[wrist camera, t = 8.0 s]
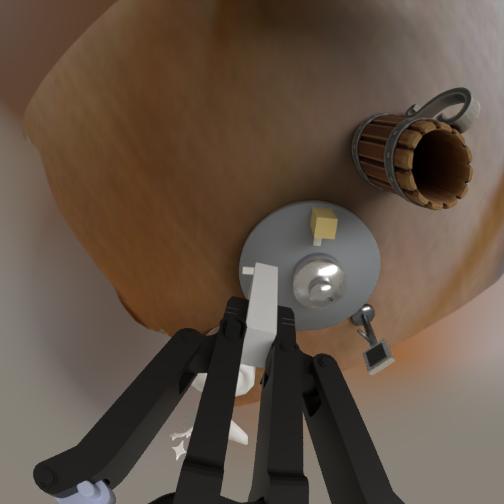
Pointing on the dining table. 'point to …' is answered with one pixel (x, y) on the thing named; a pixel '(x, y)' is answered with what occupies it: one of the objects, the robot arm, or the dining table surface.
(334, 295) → the cover
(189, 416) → the potted plant
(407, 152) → the mug
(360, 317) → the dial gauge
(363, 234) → the turntable
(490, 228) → the dining table surface
